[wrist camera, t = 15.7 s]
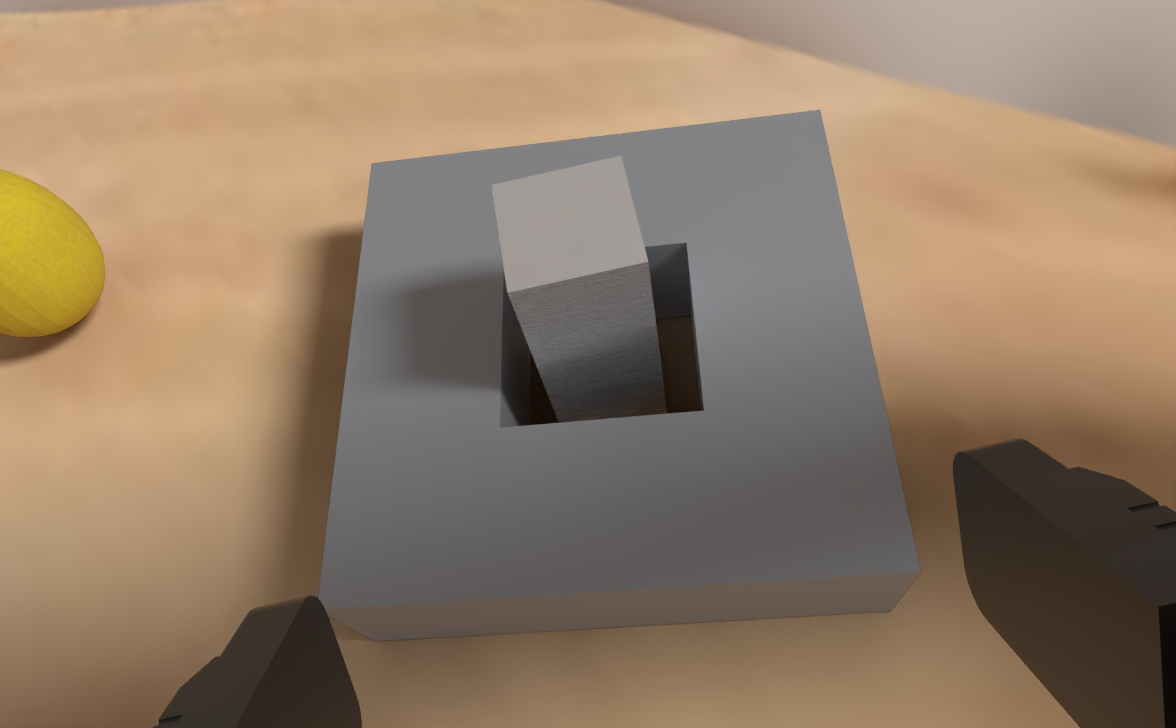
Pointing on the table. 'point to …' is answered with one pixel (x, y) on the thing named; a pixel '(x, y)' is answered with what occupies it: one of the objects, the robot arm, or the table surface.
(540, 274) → the steel bar
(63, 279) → the lemon
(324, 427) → the table surface
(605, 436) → the well block
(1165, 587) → the robot arm
